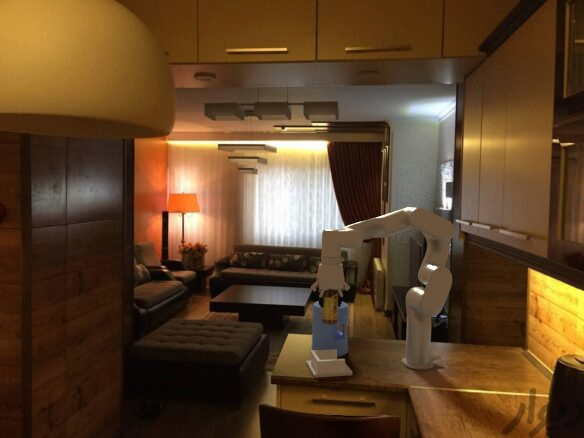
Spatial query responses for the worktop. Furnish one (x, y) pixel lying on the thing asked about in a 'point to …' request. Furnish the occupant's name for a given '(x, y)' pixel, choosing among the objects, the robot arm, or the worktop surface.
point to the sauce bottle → (330, 306)
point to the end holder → (327, 364)
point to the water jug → (330, 331)
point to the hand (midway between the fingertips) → (330, 306)
